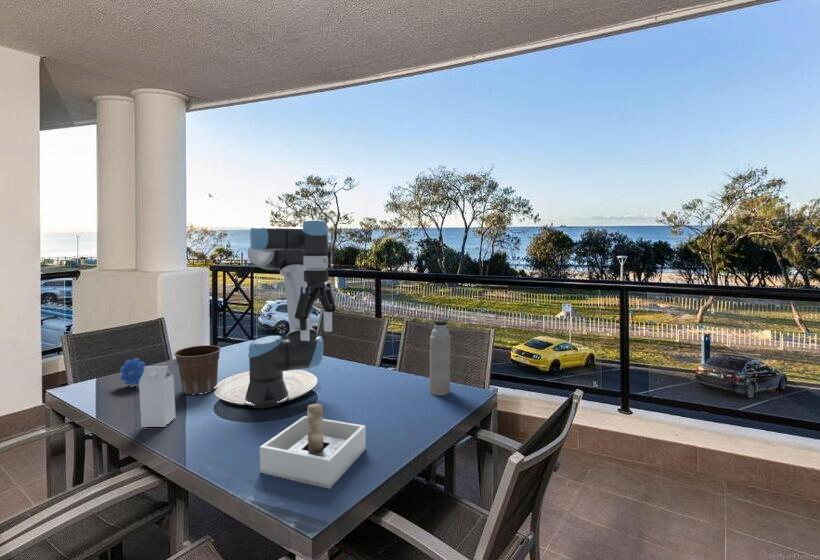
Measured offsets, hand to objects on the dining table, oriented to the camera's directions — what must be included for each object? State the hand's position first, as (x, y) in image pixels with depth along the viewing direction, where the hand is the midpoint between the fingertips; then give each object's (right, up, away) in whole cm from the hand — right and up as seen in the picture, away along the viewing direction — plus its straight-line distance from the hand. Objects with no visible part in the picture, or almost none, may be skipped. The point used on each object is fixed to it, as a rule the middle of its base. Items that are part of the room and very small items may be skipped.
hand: (317, 335), depth 133 cm
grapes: (-82, -26, +36) cm, 93 cm away
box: (+4, -31, -21) cm, 38 cm away
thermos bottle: (+41, -26, +30) cm, 58 cm away
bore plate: (+4, -31, -21) cm, 38 cm away
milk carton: (-51, -29, +1) cm, 59 cm away
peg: (+4, -30, -21) cm, 37 cm away
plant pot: (-53, -26, +32) cm, 67 cm away
